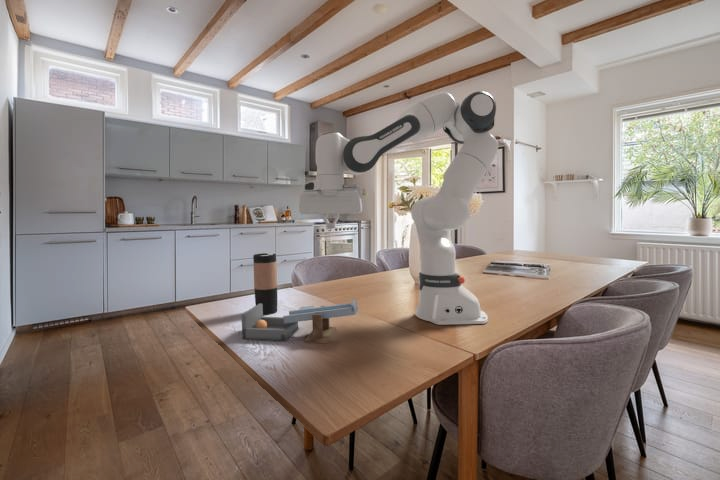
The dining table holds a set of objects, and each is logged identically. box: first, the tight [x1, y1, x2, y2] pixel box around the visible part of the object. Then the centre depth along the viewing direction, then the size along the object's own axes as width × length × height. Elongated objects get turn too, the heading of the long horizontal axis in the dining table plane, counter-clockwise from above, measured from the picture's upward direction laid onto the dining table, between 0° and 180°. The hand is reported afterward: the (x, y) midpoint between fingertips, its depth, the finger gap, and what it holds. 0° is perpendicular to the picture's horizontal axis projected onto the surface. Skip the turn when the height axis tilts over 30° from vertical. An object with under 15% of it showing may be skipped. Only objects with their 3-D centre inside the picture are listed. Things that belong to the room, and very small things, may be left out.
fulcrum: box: [305, 305, 337, 344], centre depth 96 cm, size 6×10×7 cm, turn 171°
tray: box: [240, 304, 299, 342], centre depth 99 cm, size 12×11×7 cm
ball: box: [255, 320, 267, 328], centre depth 99 cm, size 3×3×3 cm
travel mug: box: [252, 252, 278, 316], centre depth 119 cm, size 8×8×20 cm
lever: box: [282, 299, 359, 323], centre depth 100 cm, size 20×12×3 cm, turn 80°
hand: (331, 228), depth 112 cm, fingers closed
